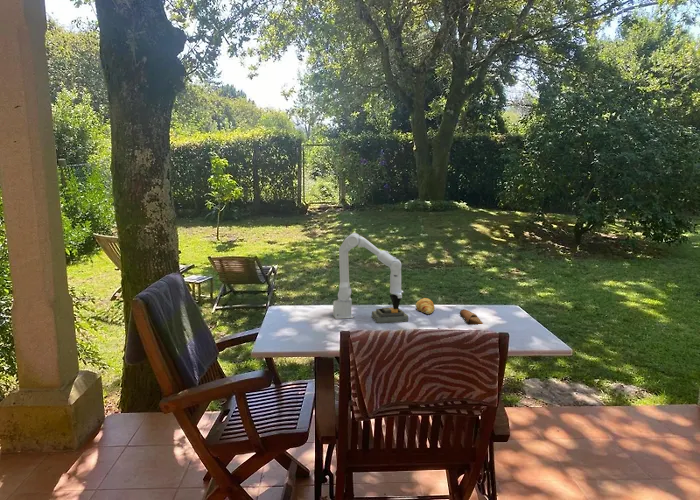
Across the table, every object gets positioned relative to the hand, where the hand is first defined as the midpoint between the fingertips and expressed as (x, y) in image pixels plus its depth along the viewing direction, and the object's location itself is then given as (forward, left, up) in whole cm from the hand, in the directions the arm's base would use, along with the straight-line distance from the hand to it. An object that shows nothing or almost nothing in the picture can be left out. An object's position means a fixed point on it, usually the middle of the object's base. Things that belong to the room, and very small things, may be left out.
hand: (395, 308), depth 273 cm
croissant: (+21, +14, -6) cm, 26 cm away
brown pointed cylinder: (+38, -8, -6) cm, 40 cm away
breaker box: (-3, 0, -5) cm, 6 cm away
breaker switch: (-3, 0, -1) cm, 3 cm away
